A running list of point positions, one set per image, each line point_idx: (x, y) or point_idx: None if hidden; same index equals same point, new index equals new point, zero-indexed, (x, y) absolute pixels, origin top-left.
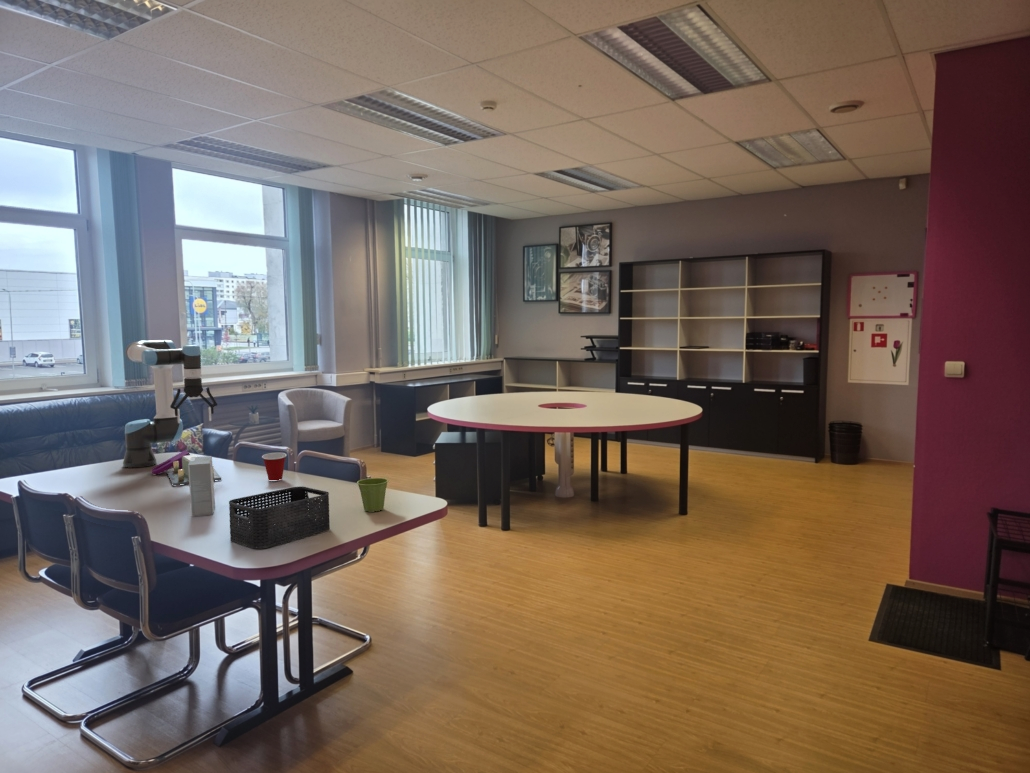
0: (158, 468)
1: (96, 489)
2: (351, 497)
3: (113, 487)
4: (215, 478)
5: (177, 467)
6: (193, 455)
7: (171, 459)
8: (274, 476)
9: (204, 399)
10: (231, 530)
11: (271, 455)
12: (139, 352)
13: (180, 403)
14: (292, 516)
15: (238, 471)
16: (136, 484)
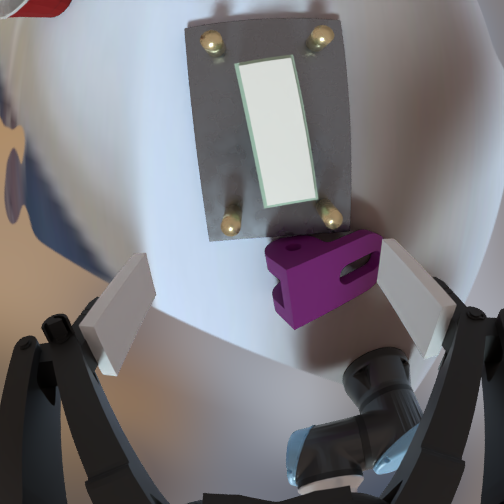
0: (373, 248)
1: (494, 130)
2: None
3: (470, 126)
4: (203, 25)
5: (325, 204)
6: (273, 186)
7: (338, 286)
8: None
9: (97, 426)
10: None
11: (17, 11)
12: None
13: (465, 364)
14: None
15: (129, 162)
16: (429, 125)
